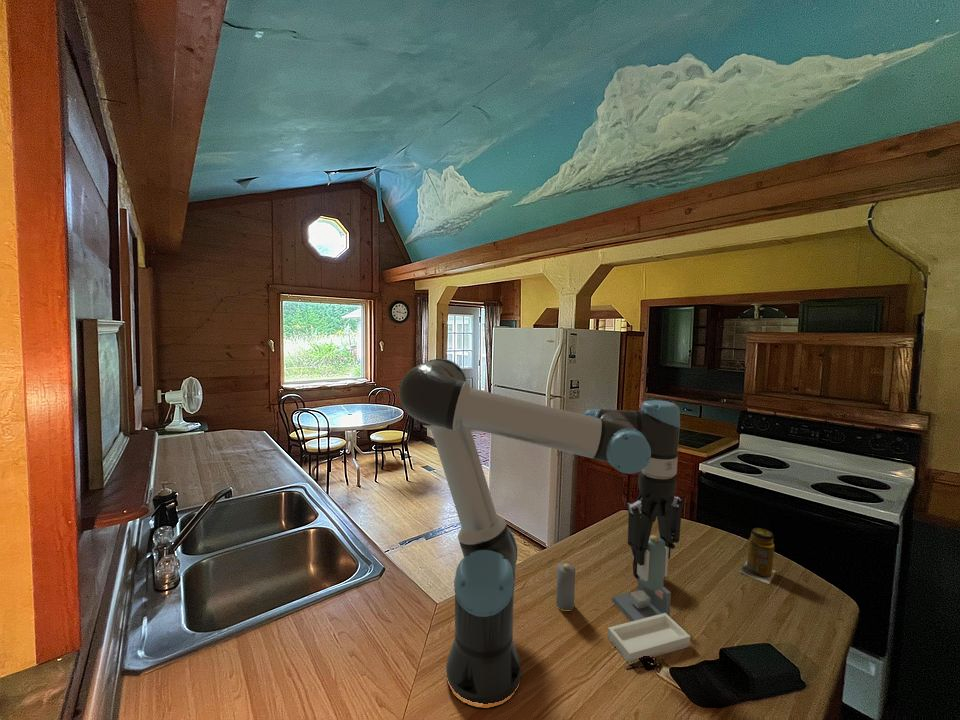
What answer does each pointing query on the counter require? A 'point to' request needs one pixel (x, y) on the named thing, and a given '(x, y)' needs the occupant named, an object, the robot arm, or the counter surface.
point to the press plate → (640, 599)
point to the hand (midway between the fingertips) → (651, 574)
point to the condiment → (760, 556)
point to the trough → (648, 637)
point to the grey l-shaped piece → (658, 606)
